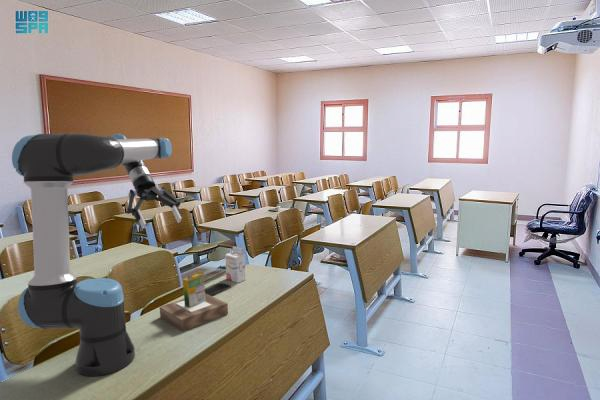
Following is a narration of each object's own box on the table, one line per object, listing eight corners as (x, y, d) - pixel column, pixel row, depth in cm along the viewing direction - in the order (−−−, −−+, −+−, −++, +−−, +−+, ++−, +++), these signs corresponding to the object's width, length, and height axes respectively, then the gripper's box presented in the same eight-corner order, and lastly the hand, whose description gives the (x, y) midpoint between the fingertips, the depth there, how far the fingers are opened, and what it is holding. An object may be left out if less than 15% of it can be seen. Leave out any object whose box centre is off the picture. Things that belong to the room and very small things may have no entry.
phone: (192, 293, 161) (219, 282, 174) (193, 296, 162) (219, 285, 174) (206, 297, 157) (232, 285, 169) (206, 299, 157) (232, 288, 169)
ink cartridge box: (225, 279, 180) (224, 247, 178) (234, 276, 184) (232, 245, 182) (237, 283, 175) (235, 250, 173) (246, 280, 178) (244, 248, 176)
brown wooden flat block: (182, 331, 130) (181, 318, 129) (160, 317, 141) (159, 305, 140) (228, 314, 142) (227, 302, 142) (204, 302, 153) (203, 291, 153)
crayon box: (200, 299, 145) (198, 268, 144) (205, 300, 144) (204, 270, 142) (184, 305, 140) (181, 274, 138) (189, 307, 138) (187, 275, 136)
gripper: (170, 184, 164) (190, 224, 156) (106, 190, 147) (125, 235, 138) (175, 172, 160) (196, 212, 151) (110, 176, 143) (130, 222, 134)
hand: (162, 223), depth 145 cm, fingers open, 13 cm apart
